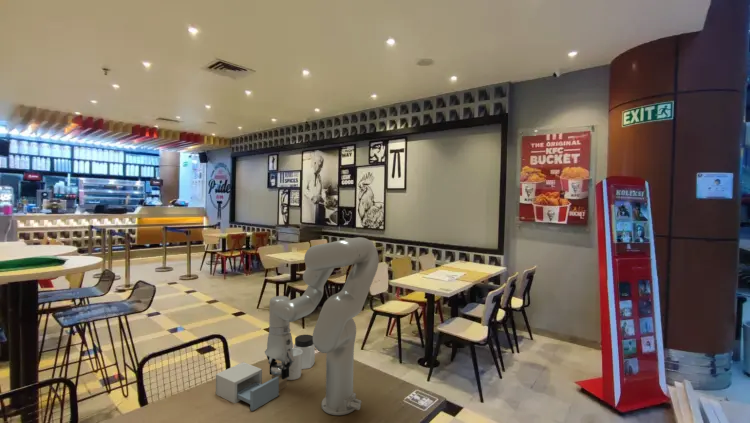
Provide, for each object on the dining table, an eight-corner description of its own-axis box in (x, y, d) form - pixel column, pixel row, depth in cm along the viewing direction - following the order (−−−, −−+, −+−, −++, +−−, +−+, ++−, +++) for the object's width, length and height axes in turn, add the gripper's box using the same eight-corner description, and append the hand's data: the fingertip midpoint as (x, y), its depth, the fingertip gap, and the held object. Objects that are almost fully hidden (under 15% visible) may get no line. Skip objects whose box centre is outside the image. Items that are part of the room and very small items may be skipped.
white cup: (299, 381, 141) (300, 356, 140) (280, 380, 141) (280, 355, 141) (304, 371, 149) (304, 348, 148) (285, 371, 149) (285, 347, 149)
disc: (290, 370, 137) (290, 365, 137) (278, 376, 132) (278, 371, 132) (279, 366, 140) (279, 361, 140) (267, 372, 135) (267, 367, 135)
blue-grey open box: (278, 395, 130) (278, 377, 129) (252, 410, 120) (252, 391, 120) (258, 386, 135) (258, 369, 135) (231, 400, 126) (231, 382, 125)
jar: (318, 364, 155) (318, 337, 155) (303, 371, 149) (303, 343, 149) (305, 358, 161) (305, 332, 161) (290, 364, 155) (290, 337, 154)
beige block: (286, 386, 137) (286, 370, 137) (278, 390, 133) (279, 375, 133) (279, 383, 139) (279, 368, 139) (271, 387, 135) (271, 372, 135)
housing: (262, 388, 135) (262, 369, 134) (234, 403, 125) (234, 382, 124) (243, 380, 141) (243, 362, 140) (215, 394, 130) (215, 374, 130)
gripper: (302, 330, 134) (302, 377, 135) (271, 322, 143) (271, 366, 144) (288, 337, 128) (288, 386, 128) (256, 327, 137) (256, 373, 137)
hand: (279, 375), depth 136 cm, fingers closed on disc, 5 cm apart
